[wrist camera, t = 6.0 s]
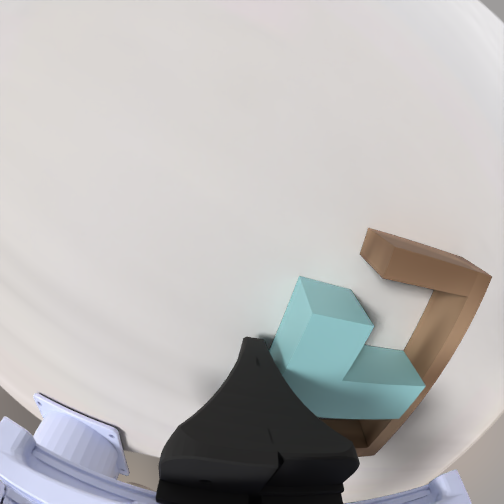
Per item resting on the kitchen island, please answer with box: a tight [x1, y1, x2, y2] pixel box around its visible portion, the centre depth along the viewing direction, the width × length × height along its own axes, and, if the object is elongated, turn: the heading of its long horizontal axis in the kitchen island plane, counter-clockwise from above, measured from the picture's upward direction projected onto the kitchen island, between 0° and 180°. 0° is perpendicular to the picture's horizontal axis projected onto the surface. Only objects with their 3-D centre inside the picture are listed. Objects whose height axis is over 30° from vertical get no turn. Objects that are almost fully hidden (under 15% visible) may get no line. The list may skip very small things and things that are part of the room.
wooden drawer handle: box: [320, 228, 492, 457], centre depth 12 cm, size 13×6×2 cm, turn 167°
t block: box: [269, 276, 426, 419], centre depth 12 cm, size 8×8×3 cm
